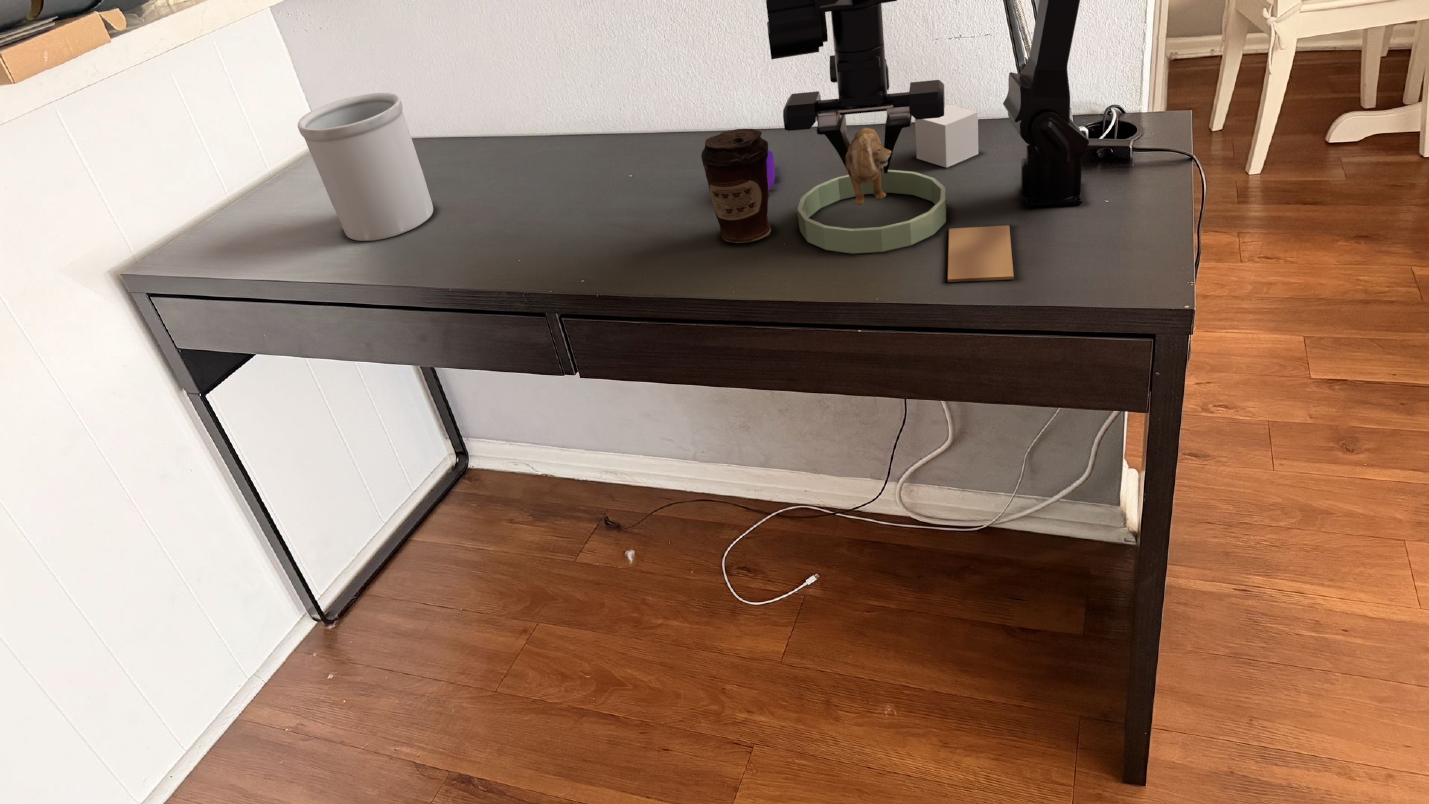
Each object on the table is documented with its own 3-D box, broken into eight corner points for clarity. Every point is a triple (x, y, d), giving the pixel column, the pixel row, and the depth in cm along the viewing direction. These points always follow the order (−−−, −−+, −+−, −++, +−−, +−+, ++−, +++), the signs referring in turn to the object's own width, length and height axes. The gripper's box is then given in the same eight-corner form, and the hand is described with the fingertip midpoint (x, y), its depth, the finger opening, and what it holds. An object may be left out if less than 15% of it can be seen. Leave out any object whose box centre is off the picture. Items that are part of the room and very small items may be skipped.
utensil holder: (372, 251, 147) (329, 133, 138) (322, 233, 157) (278, 121, 147) (455, 211, 155) (419, 97, 146) (403, 196, 165) (366, 88, 155)
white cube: (978, 154, 142) (978, 111, 139) (946, 168, 140) (945, 125, 137) (947, 145, 147) (946, 103, 144) (916, 158, 145) (914, 116, 141)
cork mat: (1009, 228, 122) (1009, 225, 122) (1013, 279, 112) (1013, 276, 111) (949, 231, 124) (949, 228, 124) (947, 282, 113) (947, 279, 113)
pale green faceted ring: (947, 187, 135) (946, 165, 133) (945, 248, 120) (944, 225, 119) (810, 196, 139) (807, 175, 138) (792, 256, 125) (789, 234, 123)
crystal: (783, 136, 149) (761, 165, 137) (786, 169, 151) (765, 201, 139) (751, 138, 151) (727, 167, 138) (754, 171, 153) (731, 202, 140)
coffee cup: (773, 247, 128) (759, 147, 120) (708, 251, 130) (691, 153, 123) (783, 218, 134) (770, 122, 127) (721, 222, 137) (706, 127, 130)
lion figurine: (901, 207, 121) (889, 135, 116) (856, 217, 122) (843, 145, 117) (885, 163, 133) (874, 96, 128) (845, 172, 134) (832, 106, 129)
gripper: (943, 17, 122) (947, 143, 130) (788, 34, 127) (802, 155, 135) (941, 44, 113) (946, 177, 121) (775, 61, 118) (791, 188, 126)
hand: (869, 173), depth 126 cm, fingers closed on lion figurine, 4 cm apart
